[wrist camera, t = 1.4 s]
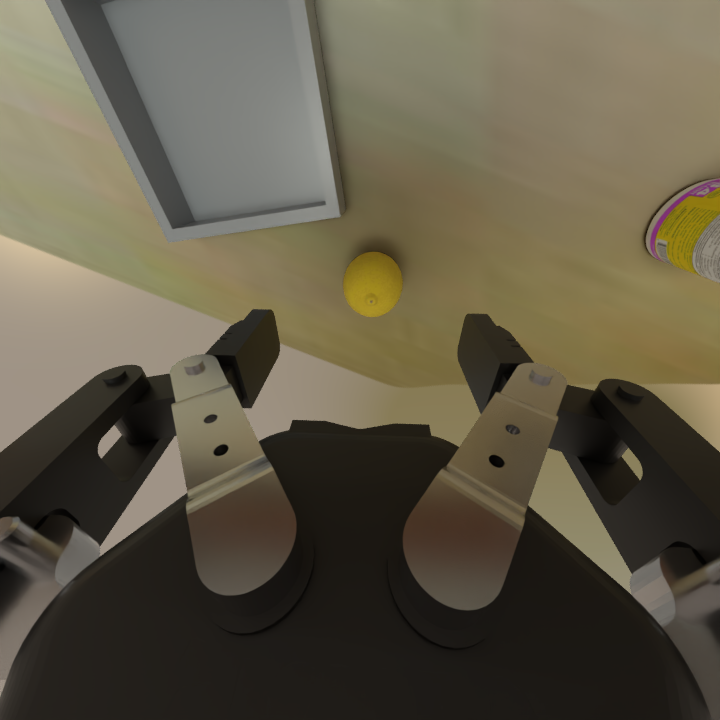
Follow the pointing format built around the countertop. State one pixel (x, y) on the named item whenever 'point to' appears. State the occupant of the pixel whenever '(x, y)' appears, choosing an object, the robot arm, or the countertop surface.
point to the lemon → (372, 284)
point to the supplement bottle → (689, 230)
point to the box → (213, 107)
